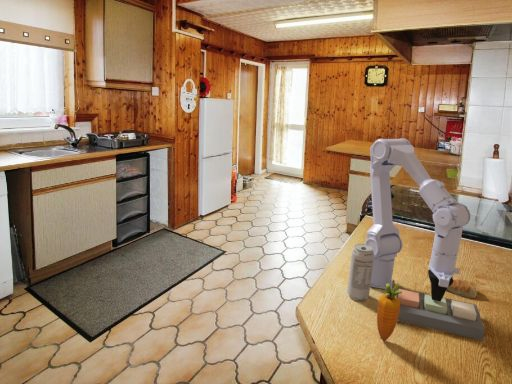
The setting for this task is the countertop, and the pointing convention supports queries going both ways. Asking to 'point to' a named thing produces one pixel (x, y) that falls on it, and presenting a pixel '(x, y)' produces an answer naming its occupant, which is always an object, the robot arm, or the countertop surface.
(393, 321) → the carrot
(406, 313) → the panel
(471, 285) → the pastry
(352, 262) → the energy drink can
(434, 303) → the sage button
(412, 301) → the terracotta button
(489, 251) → the countertop surface
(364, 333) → the countertop surface
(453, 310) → the cream button
